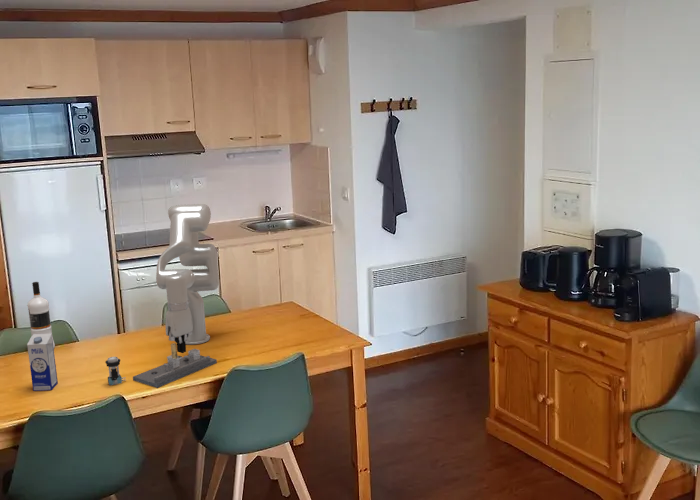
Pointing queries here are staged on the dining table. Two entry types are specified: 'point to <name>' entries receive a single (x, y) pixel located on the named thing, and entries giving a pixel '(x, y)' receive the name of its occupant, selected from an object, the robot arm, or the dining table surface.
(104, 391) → the dining table surface
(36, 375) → the milk carton
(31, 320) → the vodka
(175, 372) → the bolt plate
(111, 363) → the push button
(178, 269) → the robot arm
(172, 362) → the sliding leg
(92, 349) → the dining table surface
